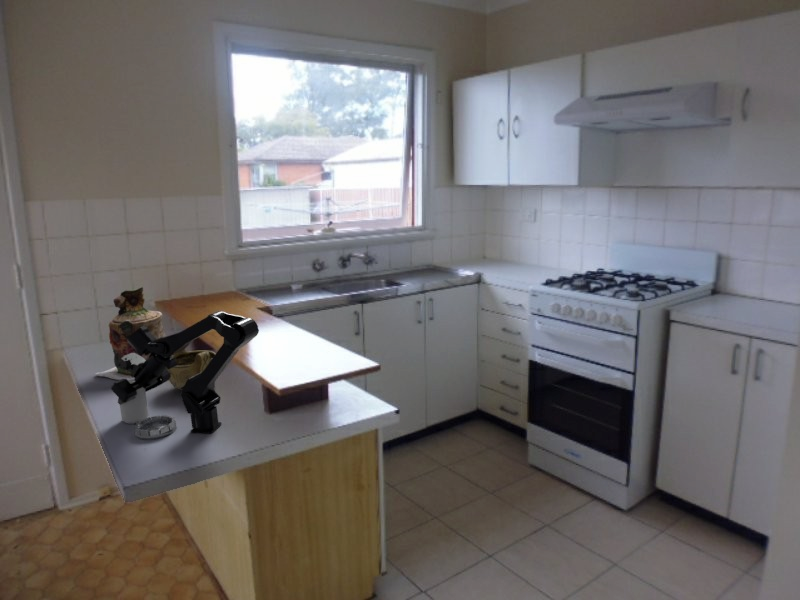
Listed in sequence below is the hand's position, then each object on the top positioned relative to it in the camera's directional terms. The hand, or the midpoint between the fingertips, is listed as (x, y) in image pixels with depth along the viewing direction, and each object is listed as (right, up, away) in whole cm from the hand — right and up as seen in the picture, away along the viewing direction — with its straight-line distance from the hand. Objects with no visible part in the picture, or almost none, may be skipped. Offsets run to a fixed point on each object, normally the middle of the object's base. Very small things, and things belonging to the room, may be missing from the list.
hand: (129, 398), depth 180 cm
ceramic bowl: (+11, -1, +25) cm, 27 cm away
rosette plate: (+11, -8, -8) cm, 16 cm away
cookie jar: (-15, +3, +45) cm, 48 cm away
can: (+2, -7, +1) cm, 7 cm away
